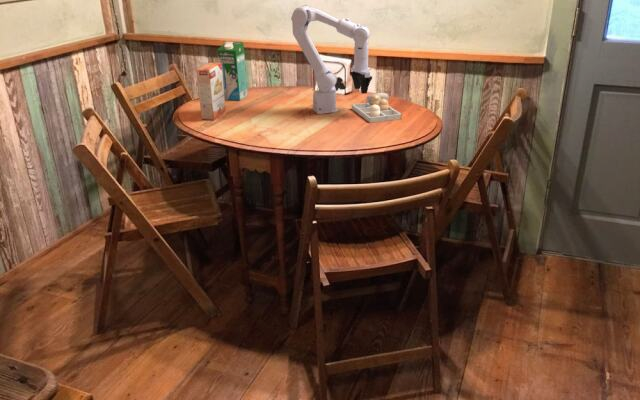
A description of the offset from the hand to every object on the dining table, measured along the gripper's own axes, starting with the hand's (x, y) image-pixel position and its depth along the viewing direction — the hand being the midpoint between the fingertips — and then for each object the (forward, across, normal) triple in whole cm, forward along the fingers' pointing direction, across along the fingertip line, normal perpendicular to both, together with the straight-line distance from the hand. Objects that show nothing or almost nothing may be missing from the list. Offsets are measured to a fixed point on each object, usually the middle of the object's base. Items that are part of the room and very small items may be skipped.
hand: (360, 91), depth 227 cm
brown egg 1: (+9, +2, -8) cm, 12 cm away
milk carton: (+10, +43, +46) cm, 64 cm away
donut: (+8, +10, -15) cm, 20 cm away
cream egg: (+9, -12, -2) cm, 15 cm away
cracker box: (+10, +19, +59) cm, 63 cm away
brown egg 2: (+9, -5, -8) cm, 13 cm away
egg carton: (+9, -5, -5) cm, 12 cm away
